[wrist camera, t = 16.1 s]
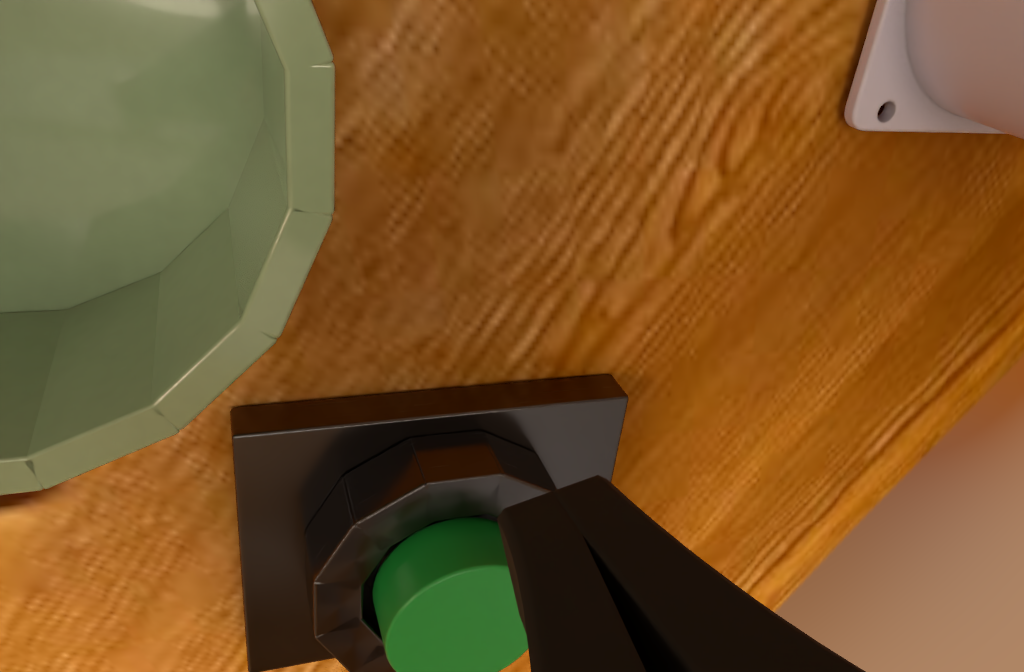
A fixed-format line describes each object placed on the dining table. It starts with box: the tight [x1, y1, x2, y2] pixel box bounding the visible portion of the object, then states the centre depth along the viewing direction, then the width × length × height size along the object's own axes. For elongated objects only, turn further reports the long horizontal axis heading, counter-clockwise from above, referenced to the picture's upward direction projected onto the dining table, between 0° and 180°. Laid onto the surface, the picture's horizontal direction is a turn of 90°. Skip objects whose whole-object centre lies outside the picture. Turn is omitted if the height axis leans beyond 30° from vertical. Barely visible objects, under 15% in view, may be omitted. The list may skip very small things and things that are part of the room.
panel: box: [230, 374, 628, 672], centre depth 22 cm, size 10×8×3 cm
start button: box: [373, 517, 528, 672], centre depth 20 cm, size 4×4×2 cm
